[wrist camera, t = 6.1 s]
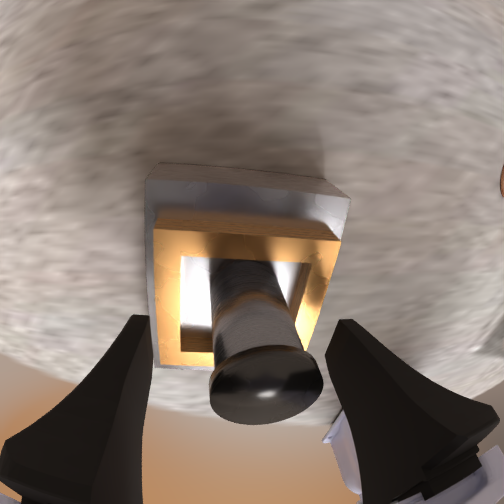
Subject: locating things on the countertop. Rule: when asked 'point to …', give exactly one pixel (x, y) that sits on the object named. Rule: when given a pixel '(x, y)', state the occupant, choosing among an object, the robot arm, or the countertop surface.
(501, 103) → the countertop surface
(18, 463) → the robot arm
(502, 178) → the key
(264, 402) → the peg
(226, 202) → the chuck block
